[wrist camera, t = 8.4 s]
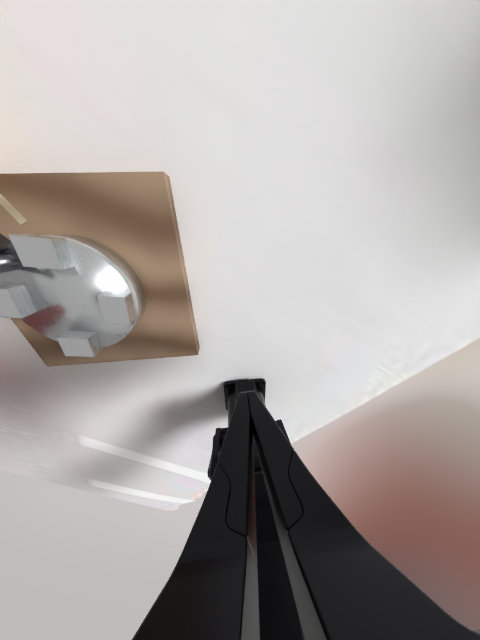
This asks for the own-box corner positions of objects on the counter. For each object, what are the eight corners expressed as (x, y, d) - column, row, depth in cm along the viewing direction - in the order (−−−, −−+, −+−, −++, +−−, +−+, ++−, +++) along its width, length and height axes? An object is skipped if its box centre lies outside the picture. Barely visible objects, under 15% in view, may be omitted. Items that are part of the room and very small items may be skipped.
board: (199, 347, 23) (197, 355, 22) (58, 357, 22) (46, 366, 20) (169, 176, 14) (163, 171, 13) (-67, 180, 13) (-101, 174, 12)
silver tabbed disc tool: (166, 297, 17) (148, 319, 13) (108, 349, 20) (78, 381, 16) (-107, 52, 9) (-361, -82, 5) (-149, 189, 12) (-346, 169, 8)
